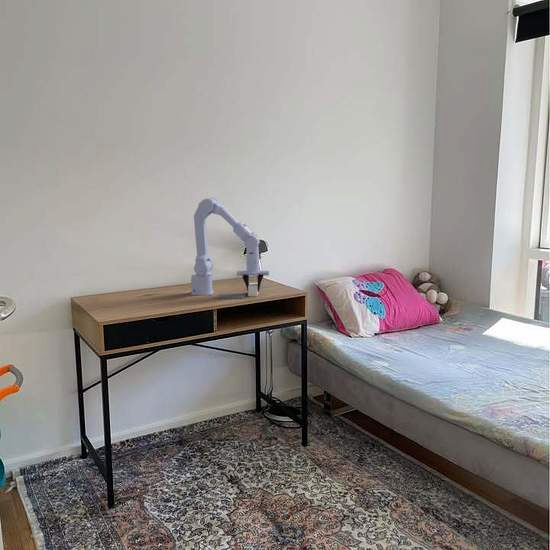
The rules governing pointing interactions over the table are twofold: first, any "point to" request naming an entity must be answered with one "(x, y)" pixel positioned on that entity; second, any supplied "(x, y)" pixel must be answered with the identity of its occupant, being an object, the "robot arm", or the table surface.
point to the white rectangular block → (253, 289)
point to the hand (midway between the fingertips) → (253, 291)
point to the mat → (231, 295)
